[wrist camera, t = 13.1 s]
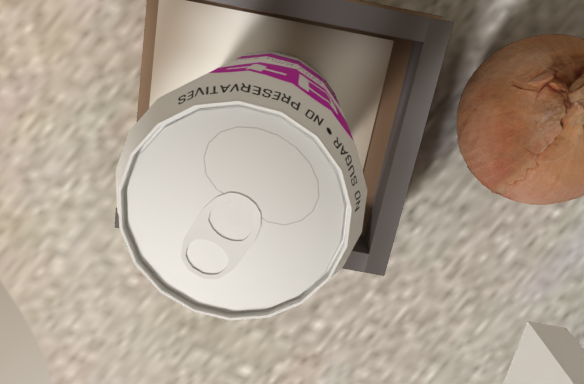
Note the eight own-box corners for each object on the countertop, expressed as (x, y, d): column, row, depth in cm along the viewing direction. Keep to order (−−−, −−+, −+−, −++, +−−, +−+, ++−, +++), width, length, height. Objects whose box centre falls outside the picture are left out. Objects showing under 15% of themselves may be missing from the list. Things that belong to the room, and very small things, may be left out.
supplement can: (247, 20, 27) (182, 16, 13) (369, 106, 29) (429, 187, 14) (174, 140, 30) (50, 248, 15) (289, 214, 31) (273, 378, 17)
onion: (487, 48, 34) (559, -39, 24) (607, 126, 33) (734, 68, 23) (408, 158, 33) (449, 113, 23) (529, 242, 32) (625, 232, 22)
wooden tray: (425, 17, 31) (455, 15, 25) (370, 236, 36) (383, 280, 30) (169, -33, 30) (135, -48, 24) (148, 195, 35) (114, 232, 29)
